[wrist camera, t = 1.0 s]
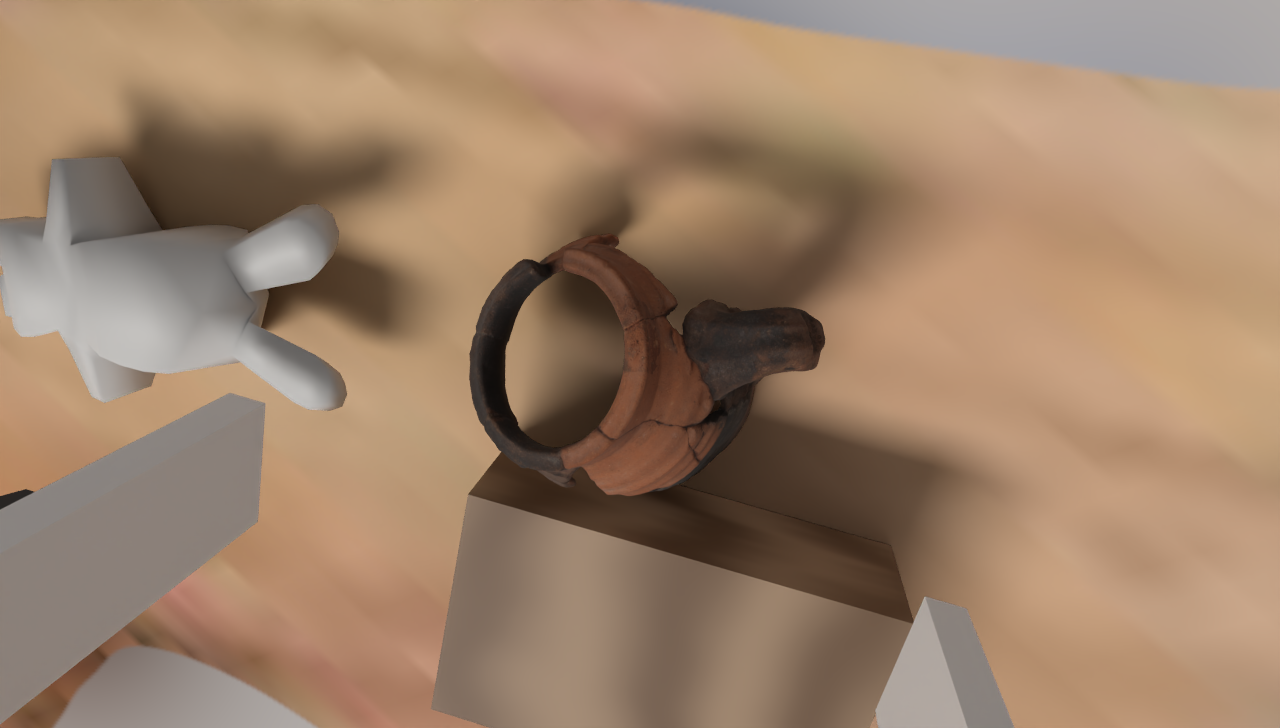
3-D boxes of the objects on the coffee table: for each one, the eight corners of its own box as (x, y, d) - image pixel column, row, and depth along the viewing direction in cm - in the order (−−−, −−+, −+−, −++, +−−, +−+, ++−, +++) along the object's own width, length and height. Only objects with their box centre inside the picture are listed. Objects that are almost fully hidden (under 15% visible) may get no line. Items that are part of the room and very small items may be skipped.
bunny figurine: (-77, 147, 27) (276, 191, 24) (62, 144, 32) (373, 180, 28) (-23, 392, 30) (296, 464, 27) (96, 356, 35) (381, 413, 31)
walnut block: (476, 629, 35) (430, 709, 30) (512, 438, 31) (468, 494, 27) (815, 732, 34) (823, 832, 29) (891, 545, 30) (914, 624, 26)
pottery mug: (610, 504, 32) (471, 529, 25) (569, 296, 34) (429, 266, 27) (886, 442, 26) (805, 453, 19) (819, 194, 28) (723, 121, 21)
